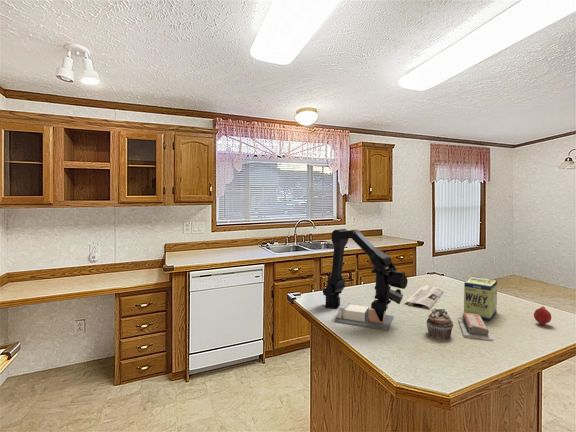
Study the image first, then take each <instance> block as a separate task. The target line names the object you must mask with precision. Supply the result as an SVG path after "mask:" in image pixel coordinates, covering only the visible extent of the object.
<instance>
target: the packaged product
mask: <svg viewBox="0 0 576 432" xmlns="http://www.w3.org/2000/svg"><path fill="white" fill-rule="evenodd" d="M457 320H458V324H459V329H460V331H461V333H462V335H463V338H467V339H468V338H469V339H475V340H483V341H492V342H493V341H494V338H493V336H492V334H491V332H490V330H489V329H488V327H487V325H486V323H485V321H484V320H482V318H481V316H480V315H478V314H473V313H464V312H463V313H462V317H461V318H460V317H459V318H457Z"/></svg>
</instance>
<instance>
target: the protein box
mask: <svg viewBox="0 0 576 432" xmlns="http://www.w3.org/2000/svg"><path fill="white" fill-rule="evenodd" d="M463 289H464V290H463V291H464V292H463V313H473V314H478V315H480V316H481V318H482V320H483V321H484V322H485V321H486V322H491V320H492V319H493V318H494V316H495V315H496V314H497V309H498V308H497V306H498V280H497V279H493V278H485V277H479V276H472V277H470V278H469V279H468V280H466V281H465V282H464V286H463Z"/></svg>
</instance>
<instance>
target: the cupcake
mask: <svg viewBox="0 0 576 432" xmlns="http://www.w3.org/2000/svg"><path fill="white" fill-rule="evenodd" d="M427 317H428V318H427V320H426V326H427V327H426V328H427V332H428V335H429V336H430V337H432V338H434V339H437V340H449V339H450V338H451V336H452V331H453V328H454V322H453V321H452V320H451V316H450V314H448V311H447V310H446V309H445V308H439V309H438V308H433V309H431V312H430V314H429V315H428V316H427Z"/></svg>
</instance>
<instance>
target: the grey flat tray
mask: <svg viewBox="0 0 576 432" xmlns="http://www.w3.org/2000/svg"><path fill="white" fill-rule="evenodd" d="M369 309H370V306H365V305H364V306H363V305H356V304H351V302H350V301H344V302H343V303H341V304H340V306H339V307H338V308H337V317H336V318H335V319H334V323H338V324H346V325H350V326H356V327H357V326H358V327H363V328H369V329H376V330H382V331H387V332H388V331H389V330H390V327H391V325H392V323H393V320H394V318H395V317H394V315H390V314H385V320H384V322H383V323H379V322H372V321H369Z"/></svg>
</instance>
